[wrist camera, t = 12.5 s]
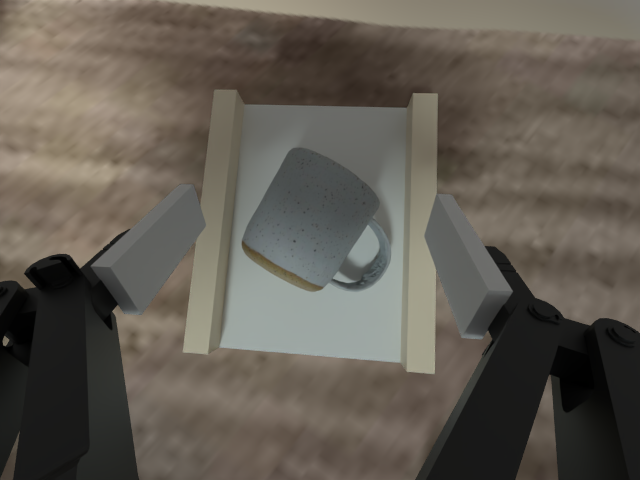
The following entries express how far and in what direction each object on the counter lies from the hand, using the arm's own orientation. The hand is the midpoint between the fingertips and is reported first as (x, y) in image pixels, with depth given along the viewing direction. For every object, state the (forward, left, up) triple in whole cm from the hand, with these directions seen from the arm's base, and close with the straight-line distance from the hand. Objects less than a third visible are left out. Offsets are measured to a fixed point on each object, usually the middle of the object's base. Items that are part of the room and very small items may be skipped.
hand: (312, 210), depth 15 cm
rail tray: (0, +1, -10) cm, 10 cm away
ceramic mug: (+1, 0, -9) cm, 9 cm away
